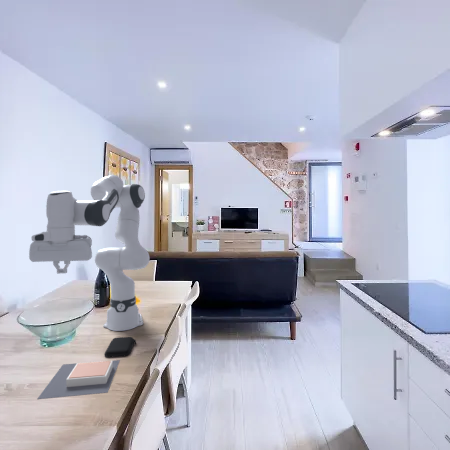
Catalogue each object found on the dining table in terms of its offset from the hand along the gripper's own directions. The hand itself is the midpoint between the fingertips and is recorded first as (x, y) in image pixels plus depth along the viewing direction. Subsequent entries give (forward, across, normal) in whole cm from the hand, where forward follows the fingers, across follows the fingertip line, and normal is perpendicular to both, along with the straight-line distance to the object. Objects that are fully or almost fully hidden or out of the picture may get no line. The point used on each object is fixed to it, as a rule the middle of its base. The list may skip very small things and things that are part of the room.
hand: (62, 273), depth 106 cm
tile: (+32, -6, +11) cm, 35 cm away
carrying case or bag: (+35, -19, -9) cm, 40 cm away
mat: (+34, -10, +11) cm, 37 cm away
